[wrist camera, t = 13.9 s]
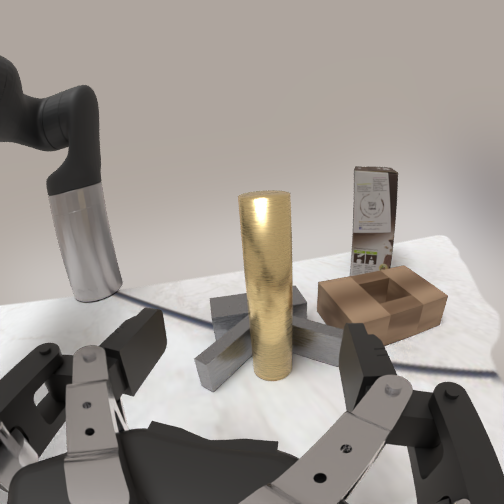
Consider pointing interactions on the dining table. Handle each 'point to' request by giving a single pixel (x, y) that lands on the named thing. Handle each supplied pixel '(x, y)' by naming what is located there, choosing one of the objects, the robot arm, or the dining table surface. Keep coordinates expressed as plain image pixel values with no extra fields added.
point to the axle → (268, 279)
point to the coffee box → (373, 219)
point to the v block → (239, 339)
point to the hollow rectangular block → (382, 303)
